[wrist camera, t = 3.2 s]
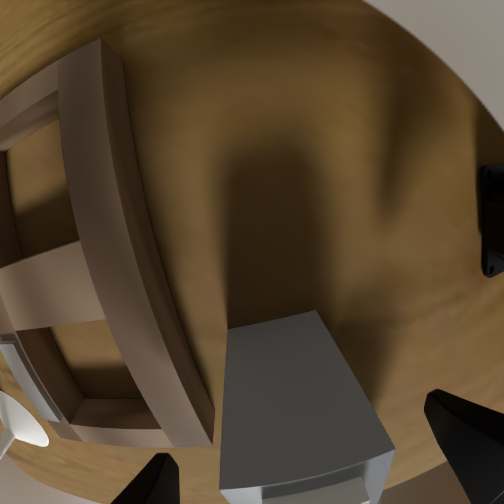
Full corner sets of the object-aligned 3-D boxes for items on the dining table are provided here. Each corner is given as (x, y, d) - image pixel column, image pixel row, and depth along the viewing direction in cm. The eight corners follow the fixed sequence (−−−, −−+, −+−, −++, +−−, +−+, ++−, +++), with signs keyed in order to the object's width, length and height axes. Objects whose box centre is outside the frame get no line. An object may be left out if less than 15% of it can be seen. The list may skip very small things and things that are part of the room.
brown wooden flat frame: (122, 60, 9) (96, 33, 6) (215, 411, 13) (212, 451, 10) (-15, 142, 9) (-48, 140, 6) (74, 414, 13) (58, 441, 10)
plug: (315, 309, 12) (408, 472, 4) (323, 376, 13) (383, 522, 5) (227, 329, 12) (218, 517, 4) (247, 393, 13) (256, 551, 5)
